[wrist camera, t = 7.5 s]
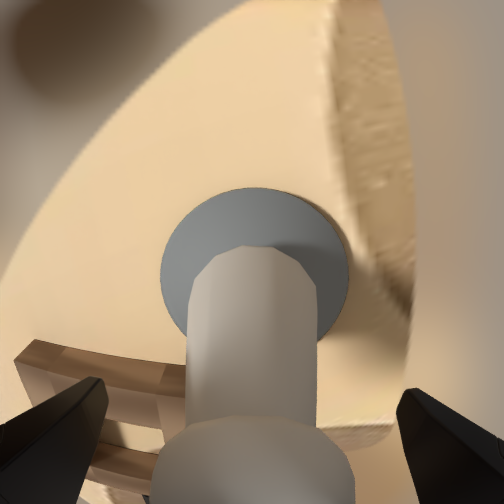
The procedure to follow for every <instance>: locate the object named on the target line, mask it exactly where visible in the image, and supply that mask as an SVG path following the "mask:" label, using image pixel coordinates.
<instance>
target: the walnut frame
mask: <svg viewBox="0 0 504 504" xmlns="http://www.w3.org/2000/svg"><path fill="white" fill-rule="evenodd" d="M14 363H15V366H16V368H17V371H18V373H19V376H20V378H21V381H22V383H23V385H24V388H25V390H26V392H27V395H28V397H29V399H30V401H31V403H32V406H33V407H35V406H36V405H38V404H40V403H42V402H44V401H45V400H47V399H49V398H51V397H53V396H54V395H56V394H58V393H60V392H61V391H63V390H65V389H67V388H69V387H70V386H72V385H74V384H76V383H77V382H79V381H81V380H83V379H84V378H86V377H88V376H96V377H100V378H102V379H103V380H104V383H105V387H106V390H107V394H108V397H109V404H108V408H107V412H106V415H105V418H106V419H110V420H114V421H119V422H123V423H128V424H133V425H138V426H144V427H150V428H155V429H162V432H163V436H164V441H165V444H166V443H167V442H168V441H169V440H170V439H171V438H173V437H174V436H176V435H177V434H178V433H180V432H181V431H182V430H184V429H185V385H186V366H183V365H173V364H165V363H157V362H149V361H142V360H135V359H129V358H122V357H116V356H110V355H105V354H99V353H94V352H89V351H84V350H79V349H74V348H69V347H65V346H60V345H56V344H52V343H47V342H43V341H39V340H35V339H34V340H33V341H32V342H31V343H30V344H29V345H28V346H27V347H26V348H25V349H24V350H23V351H22V352H21V353H20V354H19V355H18V356H17V357H16V358H15V359H14ZM158 456H159V455H156V454H150V453H145V452H140V451H135V450H130V449H126V448H121V447H117V446H113V445H109V444H105V443H101V442H100V441H99V442H98V445H97V448H96V451H95V453H94V456H93V458H92V461H91V464H90V466H89V469H88V472H87V474H86V477H85V479H88V480H91V481H94V482H97V483H100V484H104V485H107V486H111V487H114V488H118V489H122V490H126V491H130V492H134V493H139V494H143V495H148V496H150V486H151V480H152V474H153V470H154V467H155V465H156V462H157V459H158Z"/></svg>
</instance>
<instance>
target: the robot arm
mask: <svg viewBox="0 0 504 504" xmlns="http://www.w3.org/2000/svg"><path fill="white" fill-rule="evenodd" d="M108 404H109V397H108V394H107V390H106V387H105V383H104V380H103V379H102V378H100V377H96V376H88V377H86V378H84V379H83V380H81V381H79V382H77V383H76V384H74V385H72V386H70V387H69V388H67V389H65V390H63V391H61V392H60V393H58V394H56V395H54V396H53V397H51V398H49V399H47V400H45V401H44V402H42V403H40V404H38V405H36V406H35V407H33V408H31V409H29V410H27V411H26V412H24V413H22V414H20V415H18V416H16V417H15V418H13V419H11V420H9V421H7V422H6V423H5V424H1V425H0V504H76V502H77V499H78V496H79V494H80V491H81V488H82V485H83V482H84V480H85V477H86V474H87V472H88V469H89V466H90V464H91V461H92V458H93V456H94V453H95V451H96V448H97V445H98V442H99V438H100V434H101V430H102V426H103V423H104V419H105V415H106V412H107V408H108ZM396 416H397V420H398V425H399V429H400V434H401V439H402V444H403V449H404V453H405V457H406V460H407V463H408V466H409V469H410V473H411V476H412V479H413V482H414V486H415V489H416V492H417V496H418V499H419V503H420V504H504V441H503V440H502V439H500V438H497V437H496V436H495V435H493V434H491V433H490V432H488V431H486V430H485V429H483V428H482V427H480V426H478V425H477V424H475V423H473V422H472V421H470V420H468V419H467V418H465V417H463V416H462V415H460V414H459V413H457V412H455V411H454V410H452V409H451V408H449V407H447V406H446V405H444V404H442V403H441V402H439V401H438V400H436V399H434V398H433V397H431V396H430V395H428V394H426V393H425V392H423V391H422V390H420V389H418V388H412V389H406V390H405V391H404V393H403V395H402V397H401V399H400V402H399V404H398V406H397V409H396ZM142 496H143V498H144V500H145V502H146V504H149V498H150V496H148V495H143V494H142Z"/></svg>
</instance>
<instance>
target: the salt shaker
mask: <svg viewBox="0 0 504 504" xmlns="http://www.w3.org/2000/svg"><path fill="white" fill-rule="evenodd" d="M316 404H317V296H316V286H315V284H314V283H313V281H312V280H311V278H310V277H309V276H308V274H307V273H306V271H305V270H304V269H303V267H302V266H301V264H300V263H299V262H298V261H296V260H295V259H293V258H291V257H289V256H288V255H286V254H284V253H282V252H281V251H279V250H277V249H275V248H274V247H269V246H249V245H242V246H239V247H236V248H234V249H231V250H229V251H226V252H223V253H221V254H218V255H216V256H215V257H214V258H213V259H212V260H211V261H210V262H209V263H208V265H207V266H206V267H205V268H204V269H203V270H202V271H201V272H200V274H199V275H198V276H197V277H196V278H195V279H194V283H193V287H192V291H191V295H190V300H189V304H188V320H187V345H186V385H185V429H184V430H182V431H181V432H180V433H178V434H177V435H176V436H174V437H173V438H171V439H170V440H169V441H168V442H167V443H166V444H165V445H164V446H163V448H162V449H161V450H160V453H159V456H158V459H157V462H156V465H155V467H154V470H153V474H152V480H151V486H150V498H149V504H355V478H354V475H353V473H352V470H351V467H350V464H349V462H348V459H347V456H346V455H345V454H344V453H343V451H342V450H341V449H340V448H339V447H338V446H337V445H336V444H335V443H334V442H333V441H332V440H331V439H330V438H329V437H328V436H327V435H326V434H325V433H324V432H322V431H321V430H320V429H319V428H316Z"/></svg>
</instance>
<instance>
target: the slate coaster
mask: <svg viewBox="0 0 504 504" xmlns="http://www.w3.org/2000/svg"><path fill="white" fill-rule="evenodd" d="M242 245H249V246H269V247H274V248H275V249H277V250H279V251H281V252H282V253H284V254H286V255H288V256H289V257H291V258H293V259H295V260H296V261H298V262H299V263H300V264H301V266H302V267H303V269H304V270H305V271H306V273H307V274H308V276H309V277H310V278H311V280H312V281H313V283H314V284H315V286H316V296H317V341H318V340H319V339H320V338H321V337H322V336H323V335H324V334H325V333H326V332H327V331H328V330H329V329H330V327H331V326H332V325H333V323H334V322H335V321H336V319H337V317H338V315H339V313H340V312H341V309H342V307H343V304H344V302H345V298H346V294H347V289H348V280H349V275H348V263H347V258H346V254H345V251H344V248H343V245H342V243H341V241H340V239H339V237H338V235H337V233H336V232H335V230H334V229H333V227H332V226H331V224H330V223H329V222H328V221H327V220H326V219H325V218H324V217H323V216H322V214H320V213H319V212H318V211H317V210H315V209H314V208H313V207H312V206H310V205H309V204H308V203H306V202H304V201H303V200H301V199H299V198H297V197H295V196H293V195H290V194H288V193H285V192H281V191H278V190H274V189H267V188H243V189H236V190H231V191H228V192H224V193H221V194H219V195H217V196H214V197H212V198H210V199H208V200H207V201H205V202H203V203H202V204H200V205H199V206H197V207H196V208H195V209H194V210H193V211H191V212H190V213H189V214H188V215H187V216H186V217H185V218H184V219H183V220H182V221H181V222H180V223H179V225H178V226H177V227H176V229H175V230H174V232H173V233H172V235H171V237H170V239H169V241H168V243H167V245H166V248H165V251H164V254H163V257H162V263H161V273H160V282H161V290H162V295H163V299H164V302H165V305H166V307H167V310H168V312H169V314H170V316H171V318H172V319H173V321H174V323H175V324H176V325H177V327H178V328H179V329H180V331H181V332H182V333H183V334H184V335H185V336H186V337H187V320H188V304H189V300H190V295H191V291H192V287H193V283H194V279H195V278H196V277H197V276H198V275H199V274H200V272H201V271H202V270H203V269H204V268H205V267H206V266H207V265H208V263H209V262H210V261H211V260H212V259H213V258H214V257H215V256H216V255H218V254H221V253H223V252H226V251H229V250H231V249H234V248H236V247H239V246H242Z"/></svg>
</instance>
